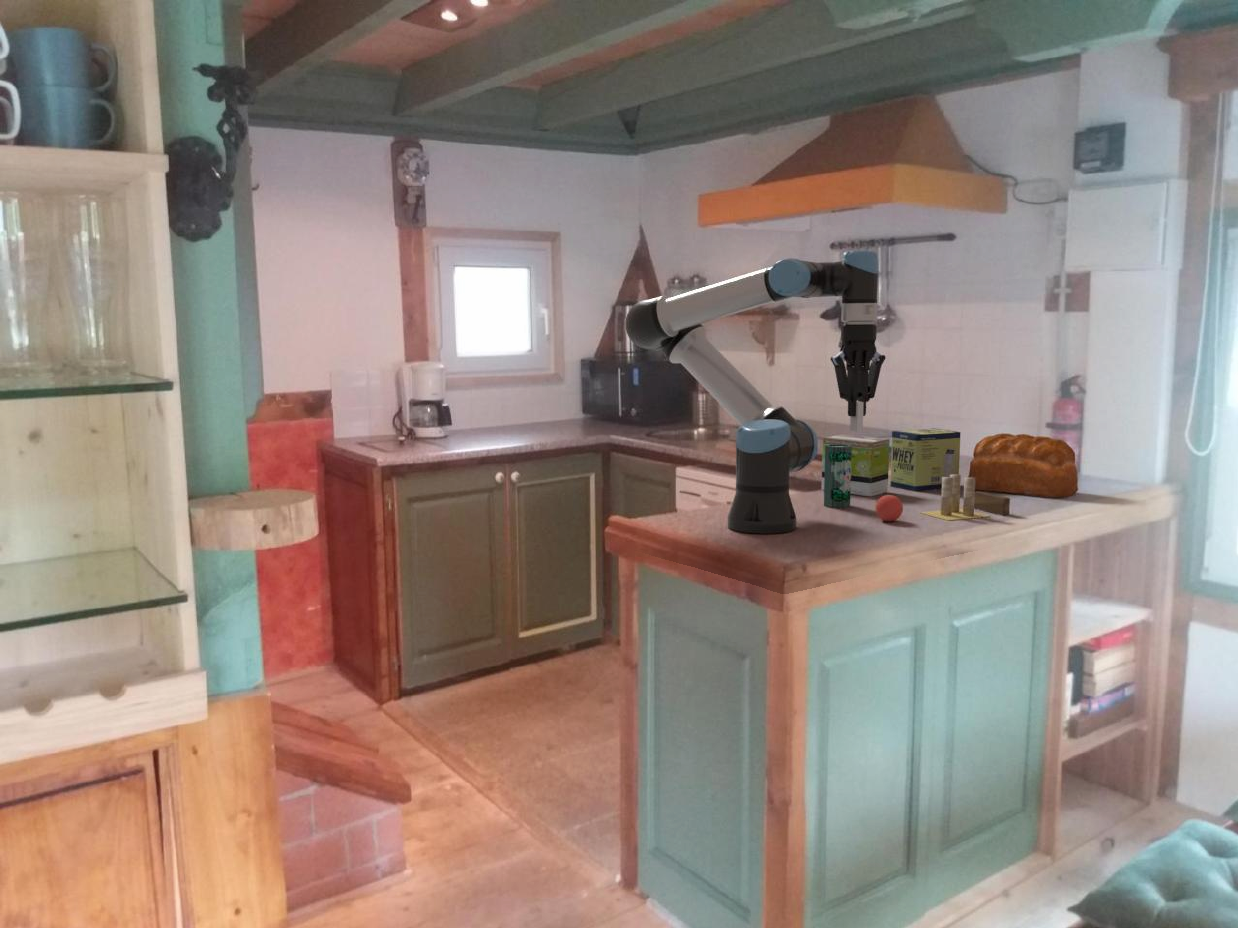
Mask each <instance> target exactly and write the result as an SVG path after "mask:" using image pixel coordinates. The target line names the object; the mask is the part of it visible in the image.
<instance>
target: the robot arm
mask: <svg viewBox="0 0 1238 928" xmlns="http://www.w3.org/2000/svg"><path fill="white" fill-rule="evenodd" d="M878 260H879V258H878V254H877V252H875V251H871V250H854V251H853V250H852V251H851V250H850V251H845V252H843V254H842V259H841V261H835V262H834V261H833V262H832V261H831V262H828V261H827V262H814V261H809V260H807V261H806V260H801V259H798V258H791V257H790V258H783V259H780V260H778V261H777V262H776V263H774V264H773V265H771V266H769V267H764V268H762V269H758V270H755V271H751V272H749V273H746V274H742V275H739V276H736V277H733V278H730V279H727V280H724V281H720V282H717V283H714V284H710V285H707V286H705V287H701V288H698V289H697V288H696V289H694V290H692V291H688V292H685V293H681V294H678V295H676V296H673V297H669V296H668V295H665V294H664V295H663V294H662V295H661V296H657V297H654V298H649V299H645V300H644V299H643V300H640V301H637V303H635V304H634V305H633V306H632V307H631V308H629V311H628V312H627V315H626V316H625V322H624V324H625V328H624V329H625V332H626V335H627V337H628V338H629V340H630V341H631V342H632V343H633V344H634V345H636V346H637V347H639V348H643V349H645V350H658V351H660V353H661V354H662V355H663V356H664V357H665V358H666V359H667V360H668V361H669V362H670V363H672V364H681V366H682V367H684V369H686V370H687V371H688V373H690V374H691V376H692V377H693V378H694V379H695V380H696V381H697V382H698V383H699V384H700V385H701V386H702V387H703V388H704V389H705V390H706V391H707V392H708V393H709V394H710V396H712V398H713V399H715V401H716V402H717V403H718V404H719V405H720V406H721V407H722V408H723V409H724V410H725V411H726V412H727V413H728V414H729V416H731V418H732V419H734V420H735V422H736V423H738V425H739V426H738V428H737V429H736V438H735V495H734V497H733V501H732V503H731V507H730V509H729V512H728V515H727V528H728V529H730V530H732V531H736V532H741V533H747V534H748V533H749V534H761V535H762V534H763V535H764V534H768V535H769V534H771V535H772V534H782V533H784V534H785V533H789V532H791V531H792V532H793V531H795V530H796V529H797V522H798V521H797V516H796V511H795V509H794V506H793V502H792V499H791V497H790V496H791V495H790V474H791V473H795V472H799V471H800V472H801V470H803V469H805V467H808V466H809V465H810V464H811V463H812V462H813V461H814V459H815V457H816V455H817V452H818V448H819V446H818V445H819V442H818V436H817V434H816V431H815V430H814V428H813V427H812V425H810V424H809V423H807V422H805V421H804V420H801V419H795V417H794V416H792V415H791V414H790V413H789V412H788V411H787V409H786V408H785V407H784V406H779V405H778V406H777V405H776V406H774V405H772V403H771V402H770V401H769V400H768V399H767V398H765V396H764V395H763V394H762V393H760V391H759V390H758V389H756V387H755V386H754V385H753V384H752V383H751V382H750V381H749V380H748V379H747V378H746V377H745V376H744V375H743V374H742V372H740V371H739V370H738V369H737V368H736V367H735V365H733V364H732V363H731V362H730V361H729V360H728V359H727V358H726V357H725V356H724V355H723V354H722V353H721V352H720V351H719V350H718V349H717V348H716V346H714V345H713V343H711V342H710V340H708V339H707V329H706V328H705V327H704V325H703V324H704V323H708V322H711V321H715V320H718V319H721V318H724V317H728V316H732V315H735V314H738V313H741V312H745V311H749V310H752V309H754V308H759V307H761V306H765V305H768V304H771V303H775V302H779V301H783V300H788V299H791V298H801V299H809V298H825V297H827V298H828V297H829V298H830V297H841V315H840V316H841V319H840V322H842V323H843V324H842V326H840V328H841V331H840V332H841V333H840V340H841V343H842V344H841V346H840V349H839V352H838V353H837V354H836V355H831V357H830V361H831V363H832V365H833V366H834V371H835V373H834V374H835V377H836V382H837V389H838V394H839V398H840V399H842V400H845V401H846V402H847V415H848V416H849V417H850V418H849V420H850V421H849V431H850V432H857V433H858V432H859V433H861V432H863V431H864V417H865V416H866V415H867V403H868V402H870V400H871V399H874V398H875V395H876V391H877V386H878V382H879V378H880V374H881V373H880V372H881V370H882V369H881V368H882V365H883V363H885V360H886V359H887V358H886V355H885V354H881V353H879V352H878V351H877V346H876V341H877V330H878V329H877V327H878V326H877V325H876V324H875V322H877V320H878V291H879V290H878V288H879V287H878V286H879V284H878V283H879V274H880V272H879V261H878Z"/></svg>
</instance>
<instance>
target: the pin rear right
mask: <svg viewBox="0 0 1238 928" xmlns="http://www.w3.org/2000/svg"><path fill="white" fill-rule="evenodd" d="M963 479H964V481H963V483H964V484H963V502H962V503H963V504H962V505H963V506H962V507H963V508H962V509H963V516H974V512H975V509H974V500H975V492H976V489H975V478H972V477H968V476H965V477H964V478H963Z"/></svg>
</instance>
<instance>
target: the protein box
mask: <svg viewBox="0 0 1238 928" xmlns="http://www.w3.org/2000/svg"><path fill="white" fill-rule="evenodd" d="M961 433H962V432H961V431H956V430H955V431H954V430H950V429H942V428H921V429H910V430H892V431H891V450H890V451H891V453H890V454H891V457H890V458H891V459H890V487H893V486H894V487H893V488H898V489H901V490H906V491H911V492H915V493H917V492H926V491H925V490H927V491H934V489H937V490H942V477H950V475H951V474H957V475H960V455H961Z"/></svg>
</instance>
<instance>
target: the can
mask: <svg viewBox="0 0 1238 928" xmlns="http://www.w3.org/2000/svg"><path fill="white" fill-rule="evenodd" d="M851 456H852V446H851V445H845V444H830V445H825V478H824V490H823V506H824V507H827V508H831V507H833V509H836V508H837V509H845V508H850V507H851V495H852V494H851Z"/></svg>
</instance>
